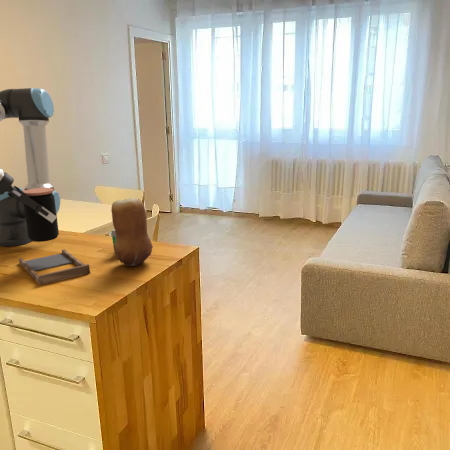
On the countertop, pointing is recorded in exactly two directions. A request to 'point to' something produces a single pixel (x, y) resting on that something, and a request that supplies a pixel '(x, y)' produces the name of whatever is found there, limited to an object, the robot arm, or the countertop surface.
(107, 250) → the countertop surface
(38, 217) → the coffee jar
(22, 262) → the bay
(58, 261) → the front mat
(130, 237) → the butternut squash
